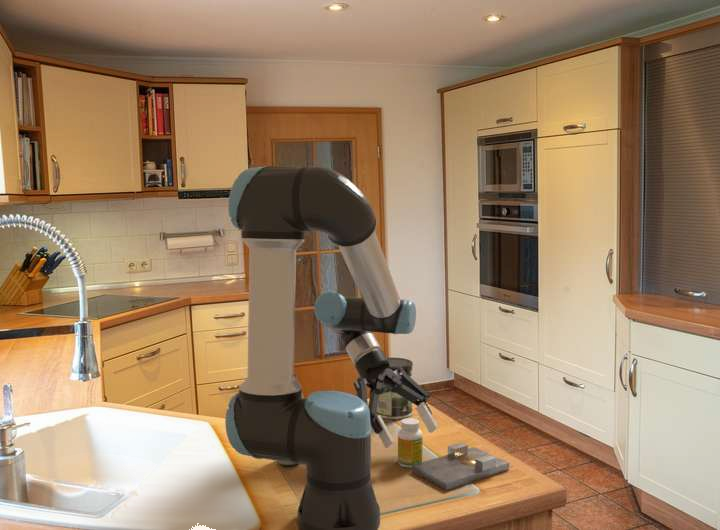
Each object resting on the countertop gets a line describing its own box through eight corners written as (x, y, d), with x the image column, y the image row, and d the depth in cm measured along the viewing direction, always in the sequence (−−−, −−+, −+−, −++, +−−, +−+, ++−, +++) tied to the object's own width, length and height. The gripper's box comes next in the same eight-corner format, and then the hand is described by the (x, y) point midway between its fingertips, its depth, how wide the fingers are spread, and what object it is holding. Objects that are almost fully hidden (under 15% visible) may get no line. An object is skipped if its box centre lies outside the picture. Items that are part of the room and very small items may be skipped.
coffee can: (414, 408, 189) (414, 358, 187) (409, 420, 178) (410, 368, 177) (377, 405, 191) (377, 356, 189) (370, 418, 181) (370, 366, 179)
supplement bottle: (415, 470, 148) (415, 427, 147) (393, 465, 151) (393, 422, 149) (426, 461, 152) (426, 419, 151) (404, 456, 155) (405, 415, 154)
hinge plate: (446, 490, 138) (447, 474, 138) (412, 471, 147) (412, 456, 146) (509, 469, 148) (509, 453, 148) (473, 453, 157) (473, 438, 157)
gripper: (399, 357, 171) (442, 432, 161) (318, 375, 155) (361, 459, 145) (414, 340, 166) (459, 416, 157) (333, 357, 150) (378, 443, 141)
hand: (412, 437), depth 151 cm, fingers open, 13 cm apart
